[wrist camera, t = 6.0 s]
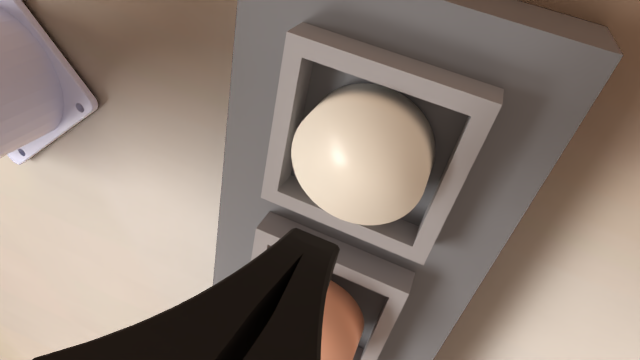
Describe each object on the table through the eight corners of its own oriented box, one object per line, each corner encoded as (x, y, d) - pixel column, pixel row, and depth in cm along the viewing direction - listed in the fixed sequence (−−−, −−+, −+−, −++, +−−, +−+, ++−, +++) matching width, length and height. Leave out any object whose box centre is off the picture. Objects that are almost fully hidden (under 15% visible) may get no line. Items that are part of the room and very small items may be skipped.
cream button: (410, 218, 16) (401, 244, 15) (298, 173, 17) (282, 195, 16) (456, 111, 14) (449, 132, 12) (322, 64, 14) (304, 80, 13)
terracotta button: (350, 361, 20) (339, 391, 19) (262, 320, 21) (246, 346, 20) (376, 299, 18) (365, 329, 17) (275, 255, 18) (258, 280, 17)
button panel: (377, 421, 29) (359, 489, 26) (228, 348, 31) (193, 402, 28) (607, 27, 14) (632, 70, 11) (284, -69, 16) (222, -57, 13)
